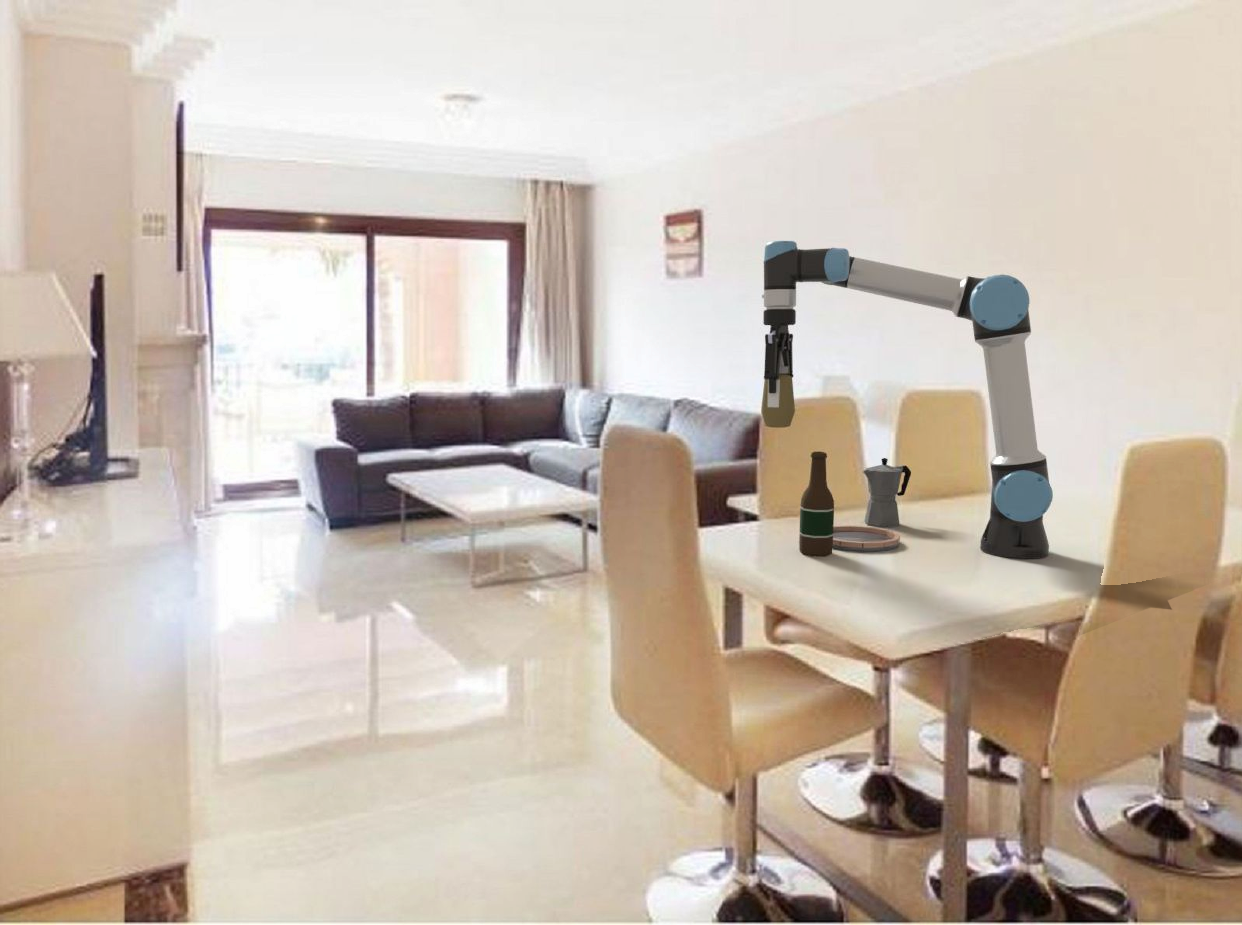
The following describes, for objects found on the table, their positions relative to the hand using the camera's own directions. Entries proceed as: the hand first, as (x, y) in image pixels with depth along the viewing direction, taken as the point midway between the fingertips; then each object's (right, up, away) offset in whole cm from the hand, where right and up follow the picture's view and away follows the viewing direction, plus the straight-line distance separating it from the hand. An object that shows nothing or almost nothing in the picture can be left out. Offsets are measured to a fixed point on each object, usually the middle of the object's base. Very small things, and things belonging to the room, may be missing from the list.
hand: (778, 405), depth 232 cm
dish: (+21, -33, +8) cm, 40 cm away
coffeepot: (+34, -30, +32) cm, 55 cm away
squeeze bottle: (0, -5, +1) cm, 5 cm away
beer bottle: (+8, -35, -3) cm, 36 cm away
